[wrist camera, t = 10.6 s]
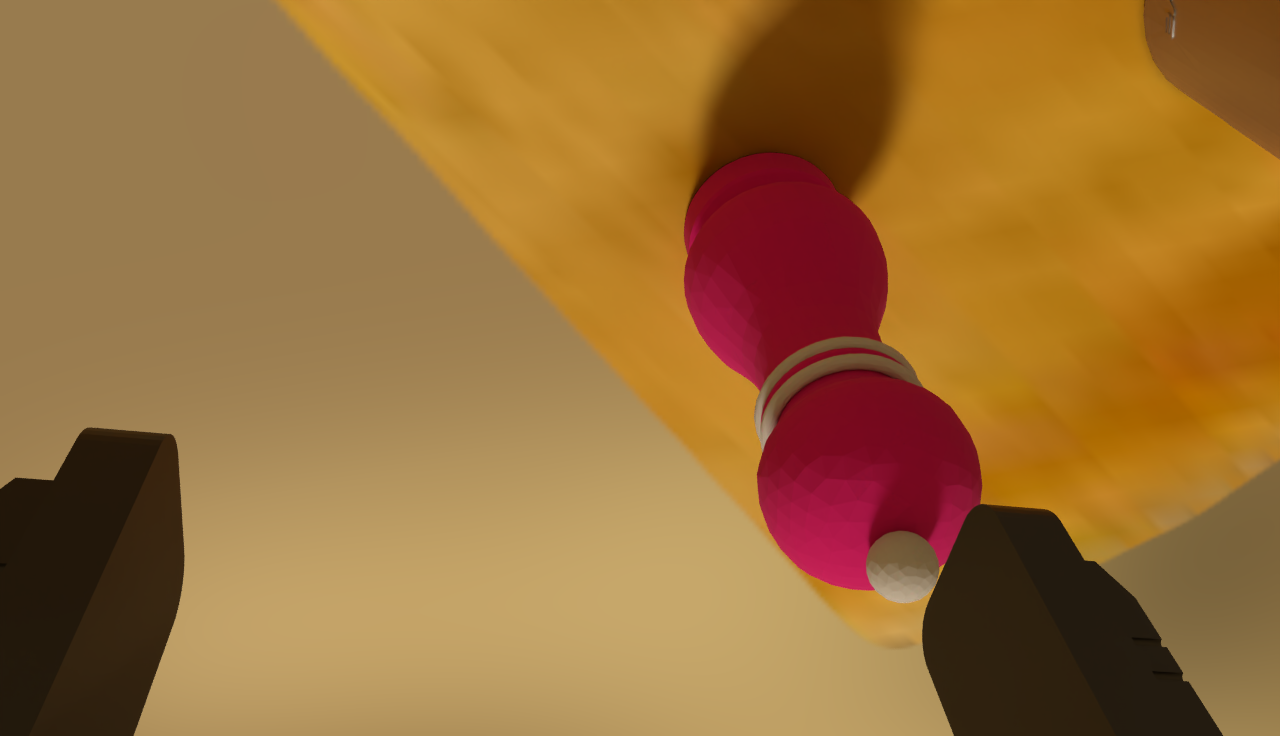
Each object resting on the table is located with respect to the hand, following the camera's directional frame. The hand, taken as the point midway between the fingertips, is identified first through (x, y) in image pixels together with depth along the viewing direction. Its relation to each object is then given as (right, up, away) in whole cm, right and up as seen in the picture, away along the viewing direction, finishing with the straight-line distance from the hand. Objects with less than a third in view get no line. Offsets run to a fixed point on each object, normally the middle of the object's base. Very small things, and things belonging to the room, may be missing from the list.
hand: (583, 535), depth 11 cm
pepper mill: (+5, +7, +32) cm, 33 cm away
